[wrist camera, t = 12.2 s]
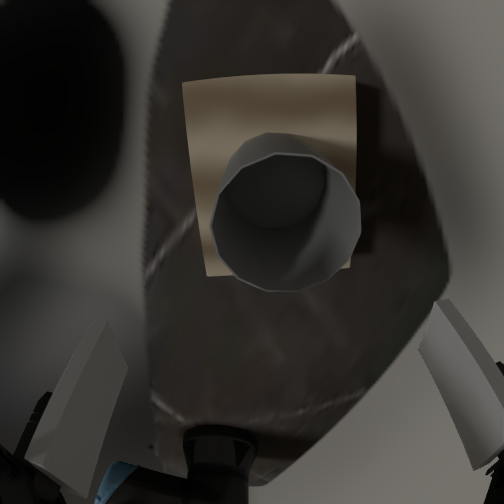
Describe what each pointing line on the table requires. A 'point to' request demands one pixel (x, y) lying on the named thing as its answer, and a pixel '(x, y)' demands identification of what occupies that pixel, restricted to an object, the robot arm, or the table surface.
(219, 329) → the table surface
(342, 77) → the oak stand
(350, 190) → the cup
